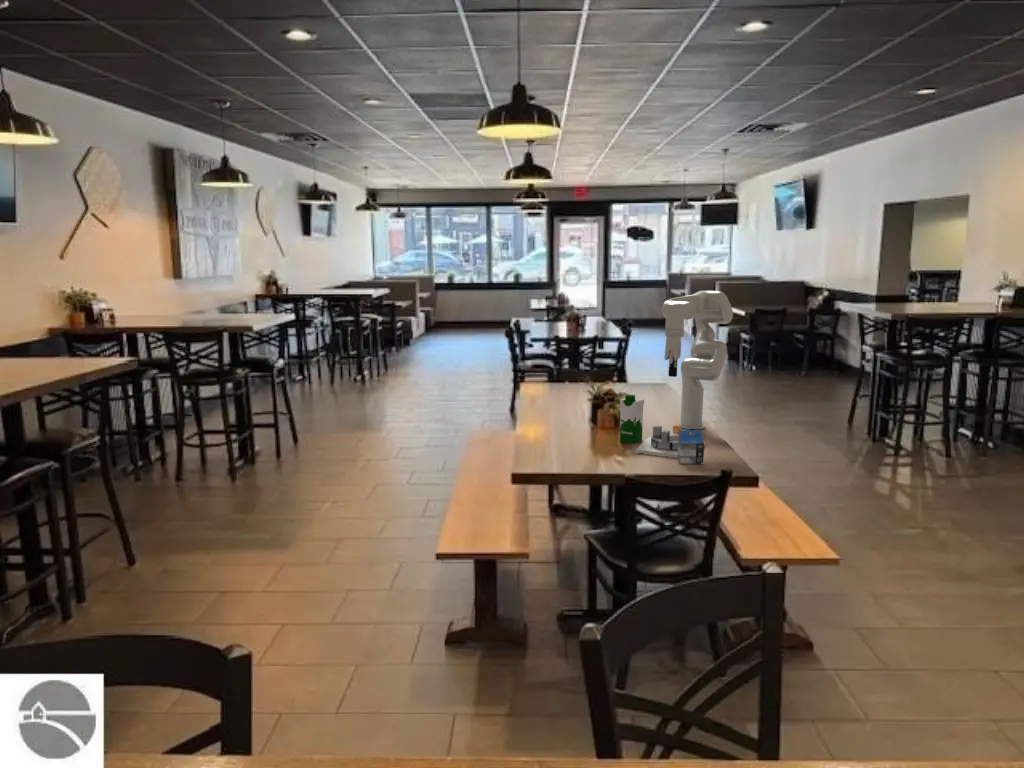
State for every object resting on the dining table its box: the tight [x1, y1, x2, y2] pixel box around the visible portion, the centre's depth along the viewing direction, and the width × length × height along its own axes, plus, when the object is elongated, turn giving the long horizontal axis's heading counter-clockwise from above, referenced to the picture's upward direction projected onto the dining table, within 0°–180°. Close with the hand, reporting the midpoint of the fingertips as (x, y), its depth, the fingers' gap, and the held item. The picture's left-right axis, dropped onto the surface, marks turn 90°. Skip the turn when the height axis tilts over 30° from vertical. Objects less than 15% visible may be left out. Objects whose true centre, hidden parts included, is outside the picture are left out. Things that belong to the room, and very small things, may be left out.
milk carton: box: [619, 394, 645, 445], centre depth 307 cm, size 9×9×20 cm
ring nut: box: [651, 424, 691, 451], centre depth 295 cm, size 15×15×7 cm
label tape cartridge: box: [677, 429, 705, 465], centre depth 276 cm, size 9×4×12 cm, turn 91°
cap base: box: [634, 432, 706, 458], centre depth 295 cm, size 23×23×6 cm
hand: (672, 376), depth 308 cm, fingers closed
